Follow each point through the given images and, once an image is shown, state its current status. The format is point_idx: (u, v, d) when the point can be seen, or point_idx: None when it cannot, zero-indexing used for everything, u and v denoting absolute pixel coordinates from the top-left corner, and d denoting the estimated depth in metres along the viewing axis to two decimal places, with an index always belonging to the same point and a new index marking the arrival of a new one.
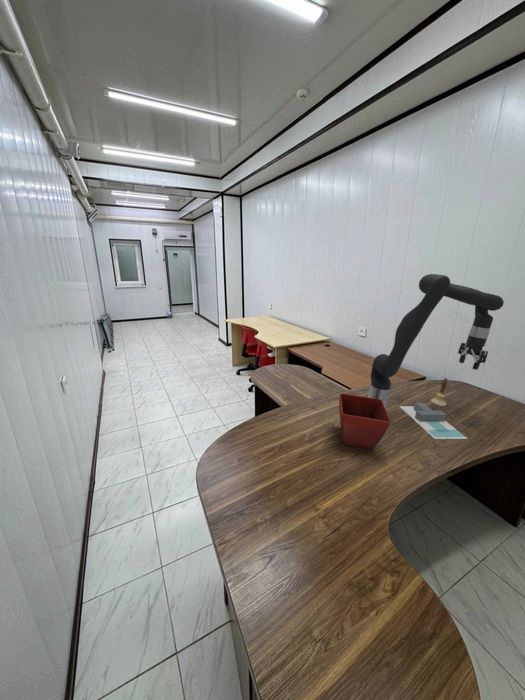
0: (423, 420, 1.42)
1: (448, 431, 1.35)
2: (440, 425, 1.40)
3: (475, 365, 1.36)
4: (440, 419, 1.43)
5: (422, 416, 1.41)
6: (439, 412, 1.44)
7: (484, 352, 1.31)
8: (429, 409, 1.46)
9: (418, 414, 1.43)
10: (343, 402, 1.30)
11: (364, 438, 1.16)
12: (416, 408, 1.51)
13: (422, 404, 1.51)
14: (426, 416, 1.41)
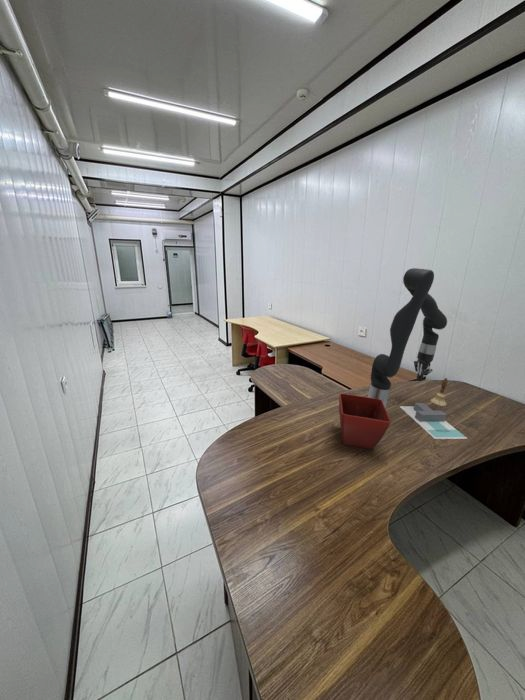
0: (423, 420, 1.42)
1: (448, 431, 1.35)
2: (440, 425, 1.40)
3: (419, 377, 1.52)
4: (440, 419, 1.43)
5: (422, 416, 1.41)
6: (439, 412, 1.44)
7: (428, 371, 1.45)
8: (429, 409, 1.46)
9: (418, 414, 1.43)
10: (343, 402, 1.30)
11: (364, 438, 1.16)
12: (416, 408, 1.51)
13: (422, 404, 1.51)
14: (426, 416, 1.41)
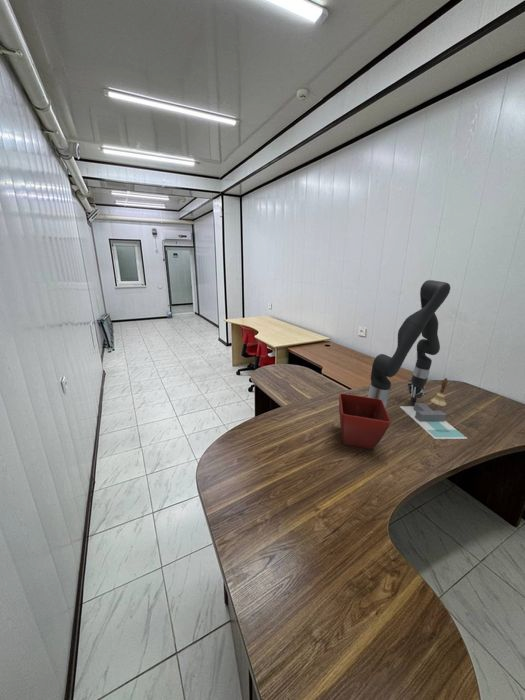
0: (423, 420, 1.42)
1: (448, 431, 1.35)
2: (440, 425, 1.40)
3: (413, 399, 1.57)
4: (440, 419, 1.43)
5: (422, 416, 1.41)
6: (439, 412, 1.44)
7: (422, 394, 1.50)
8: (429, 409, 1.46)
9: (418, 414, 1.43)
10: (343, 402, 1.30)
11: (364, 438, 1.16)
12: (416, 408, 1.51)
13: (422, 404, 1.51)
14: (426, 416, 1.41)
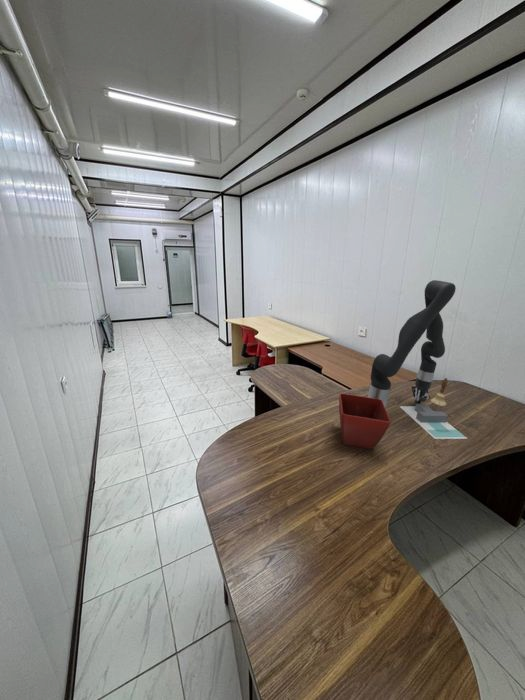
0: (424, 421, 1.41)
1: (448, 431, 1.35)
2: (440, 425, 1.40)
3: (417, 403, 1.53)
4: (441, 420, 1.42)
5: (423, 417, 1.40)
6: (440, 413, 1.43)
7: (426, 398, 1.46)
8: (430, 410, 1.45)
9: (420, 415, 1.42)
10: (343, 402, 1.30)
11: (364, 438, 1.16)
12: (417, 409, 1.50)
13: (423, 405, 1.50)
14: (427, 417, 1.40)
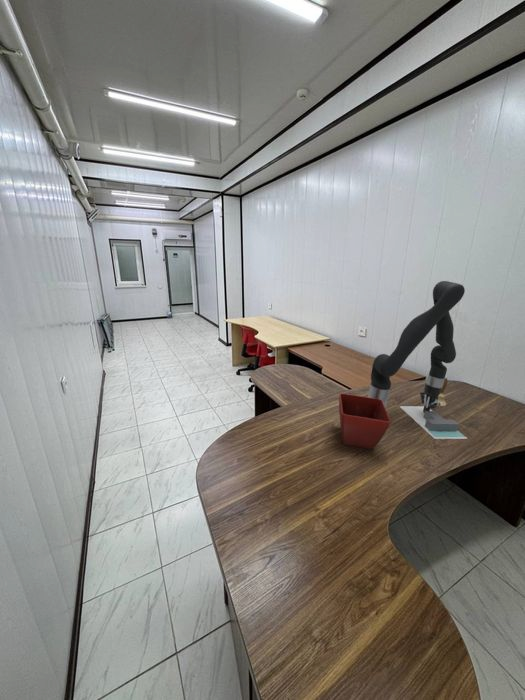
0: (434, 429, 1.34)
1: (448, 431, 1.35)
2: None
3: (426, 410, 1.46)
4: (452, 429, 1.35)
5: (432, 425, 1.33)
6: (451, 421, 1.36)
7: (436, 405, 1.39)
8: (440, 418, 1.39)
9: (428, 423, 1.35)
10: (343, 402, 1.30)
11: (364, 438, 1.16)
12: (426, 416, 1.43)
13: (433, 412, 1.43)
14: (437, 425, 1.34)
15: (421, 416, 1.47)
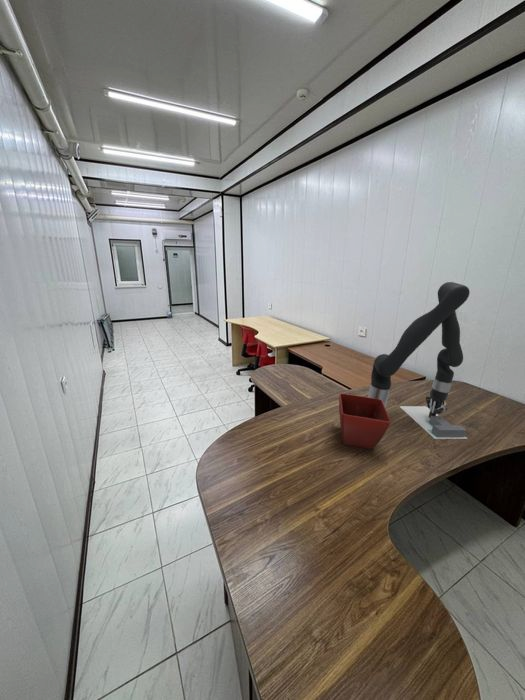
0: (441, 436, 1.30)
1: None
2: None
3: (432, 415, 1.42)
4: (459, 435, 1.31)
5: (440, 431, 1.29)
6: (458, 427, 1.32)
7: (443, 410, 1.35)
8: (447, 423, 1.34)
9: (435, 429, 1.30)
10: (343, 402, 1.30)
11: (364, 438, 1.16)
12: (432, 422, 1.39)
13: (439, 417, 1.39)
14: (444, 431, 1.29)
15: (421, 416, 1.47)
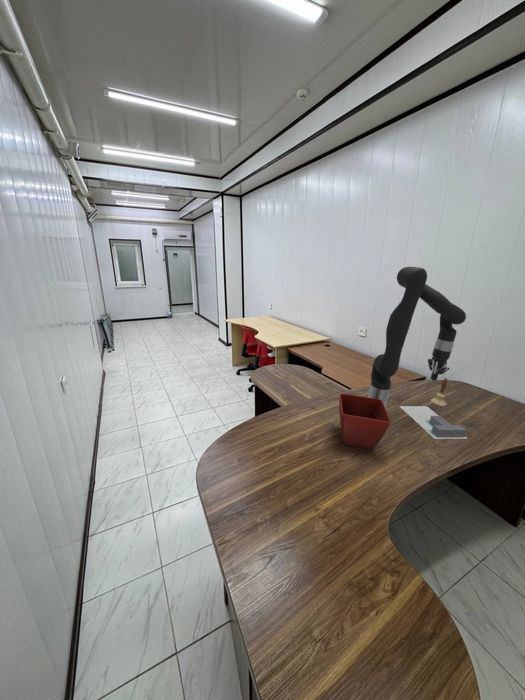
0: (441, 436, 1.30)
1: None
2: None
3: (434, 376, 1.41)
4: (459, 435, 1.31)
5: (440, 431, 1.29)
6: (458, 427, 1.32)
7: (445, 369, 1.34)
8: (447, 423, 1.34)
9: (435, 429, 1.30)
10: (343, 402, 1.30)
11: (364, 438, 1.16)
12: (432, 422, 1.39)
13: (439, 417, 1.39)
14: (444, 431, 1.29)
15: (421, 416, 1.47)
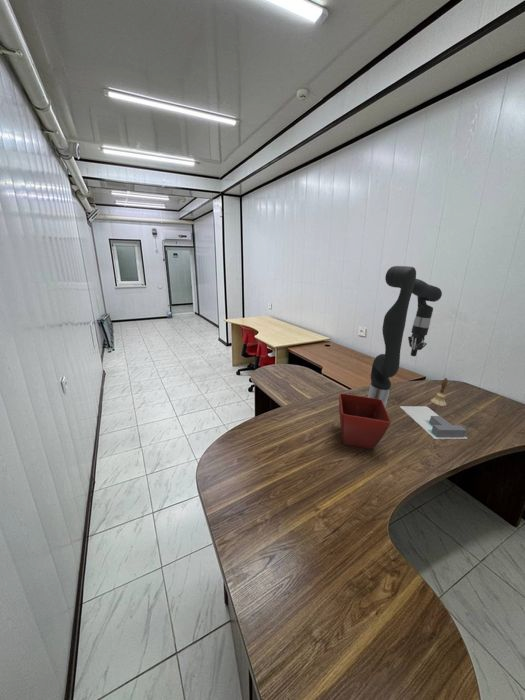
0: (441, 436, 1.30)
1: None
2: None
3: (413, 352, 1.50)
4: (459, 435, 1.31)
5: (440, 431, 1.29)
6: (458, 427, 1.32)
7: (423, 344, 1.43)
8: (447, 423, 1.34)
9: (435, 429, 1.30)
10: (343, 402, 1.30)
11: (364, 438, 1.16)
12: (432, 422, 1.39)
13: (439, 417, 1.39)
14: (444, 431, 1.29)
15: (421, 416, 1.47)
